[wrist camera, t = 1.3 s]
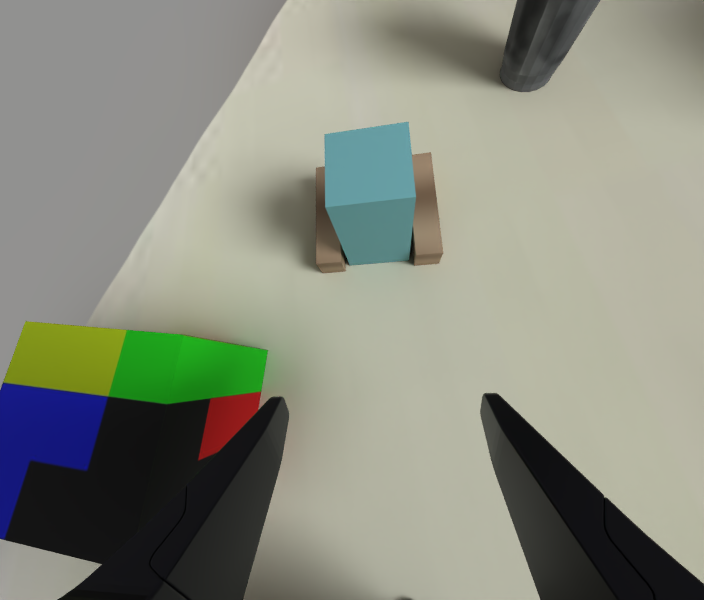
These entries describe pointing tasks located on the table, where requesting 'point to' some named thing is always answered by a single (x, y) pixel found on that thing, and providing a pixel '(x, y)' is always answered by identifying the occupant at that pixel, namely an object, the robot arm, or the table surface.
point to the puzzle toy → (112, 429)
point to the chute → (423, 230)
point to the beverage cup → (541, 40)
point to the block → (371, 192)
